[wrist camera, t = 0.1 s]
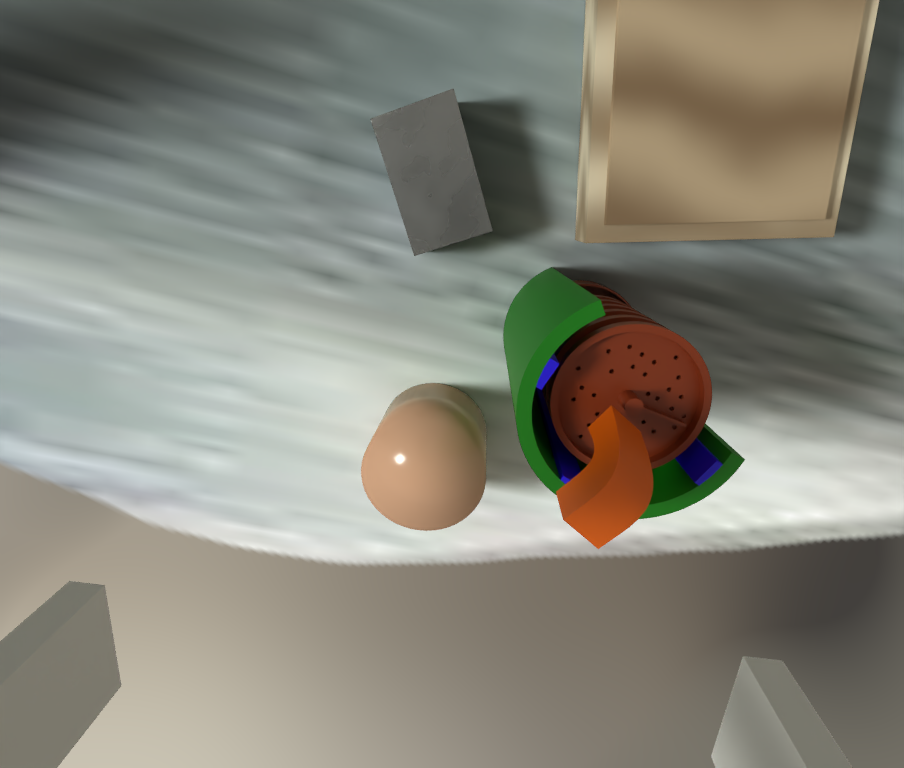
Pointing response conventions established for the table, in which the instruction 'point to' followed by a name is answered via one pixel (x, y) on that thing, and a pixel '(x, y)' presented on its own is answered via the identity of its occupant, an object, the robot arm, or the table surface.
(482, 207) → the grey stone block
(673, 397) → the motor
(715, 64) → the plinth
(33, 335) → the table surface
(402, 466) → the tan rounded cylinder
